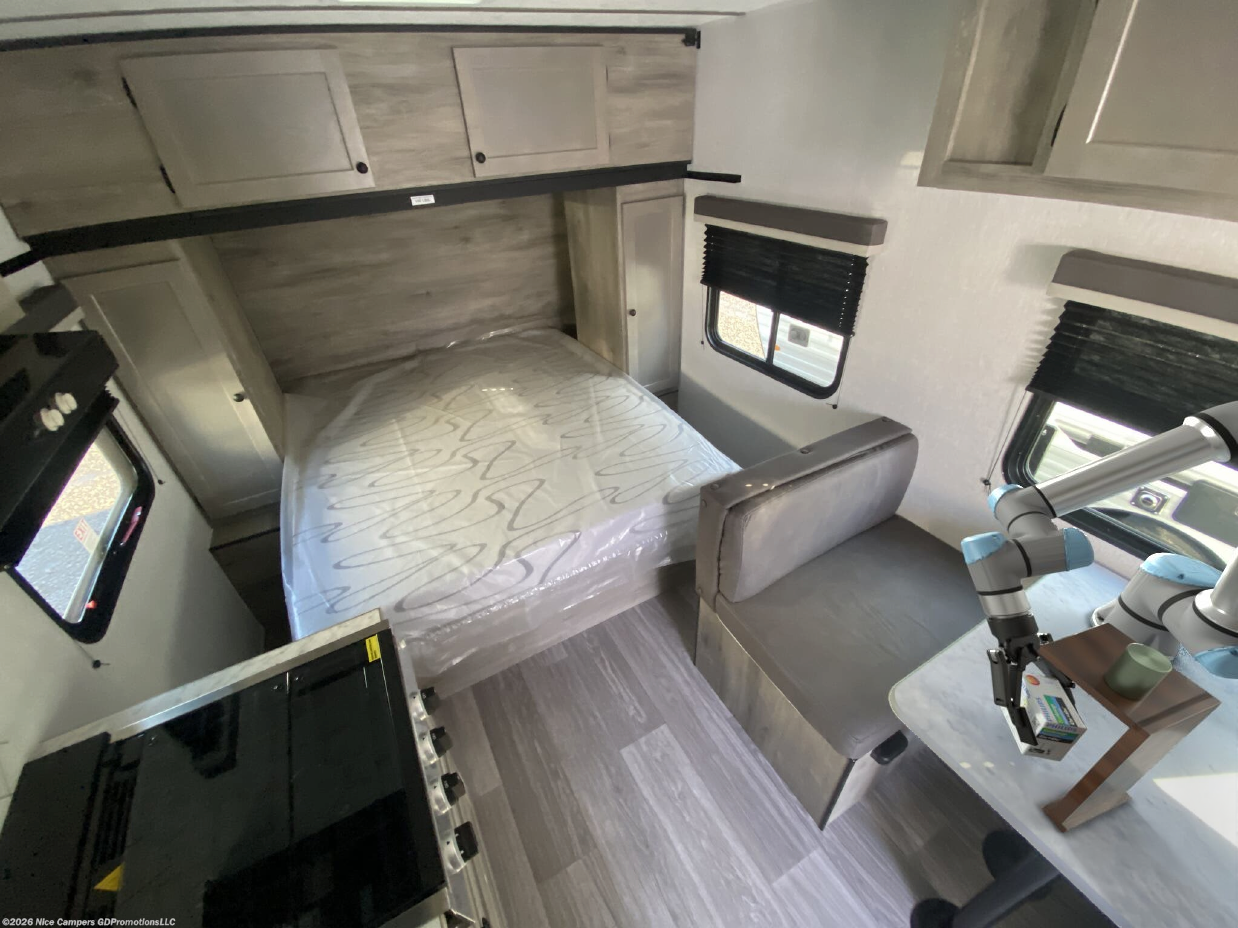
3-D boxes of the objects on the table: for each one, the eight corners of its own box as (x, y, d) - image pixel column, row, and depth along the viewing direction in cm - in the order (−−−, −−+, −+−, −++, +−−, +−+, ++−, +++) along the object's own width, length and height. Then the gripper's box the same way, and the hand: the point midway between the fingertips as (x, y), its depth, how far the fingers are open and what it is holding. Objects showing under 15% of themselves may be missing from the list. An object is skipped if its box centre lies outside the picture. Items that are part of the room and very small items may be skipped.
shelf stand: (1036, 715, 105) (1129, 593, 86) (1128, 801, 91) (1263, 679, 72) (977, 739, 101) (1060, 617, 82) (1064, 833, 87) (1188, 713, 68)
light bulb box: (1061, 762, 94) (1090, 730, 88) (1020, 755, 95) (1046, 722, 89) (1033, 709, 103) (1058, 676, 97) (996, 703, 104) (1019, 670, 98)
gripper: (1032, 598, 105) (1074, 710, 101) (945, 627, 99) (986, 747, 95) (1071, 599, 98) (1118, 719, 94) (980, 630, 92) (1025, 760, 88)
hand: (1051, 733), depth 94 cm, fingers closed on light bulb box, 10 cm apart
